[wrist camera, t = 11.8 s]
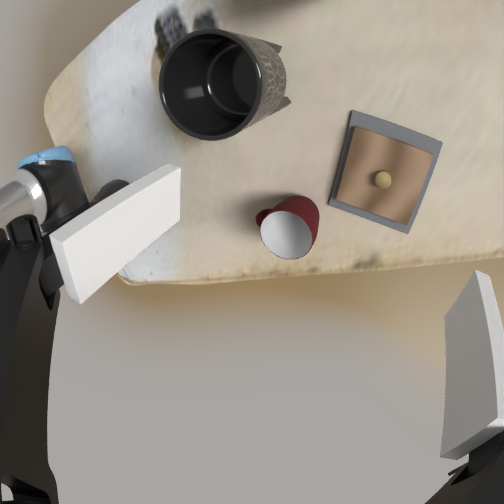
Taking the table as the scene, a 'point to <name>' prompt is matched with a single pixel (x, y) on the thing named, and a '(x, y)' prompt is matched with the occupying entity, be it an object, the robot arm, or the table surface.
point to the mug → (289, 227)
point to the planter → (221, 83)
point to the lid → (383, 175)
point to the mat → (393, 132)
